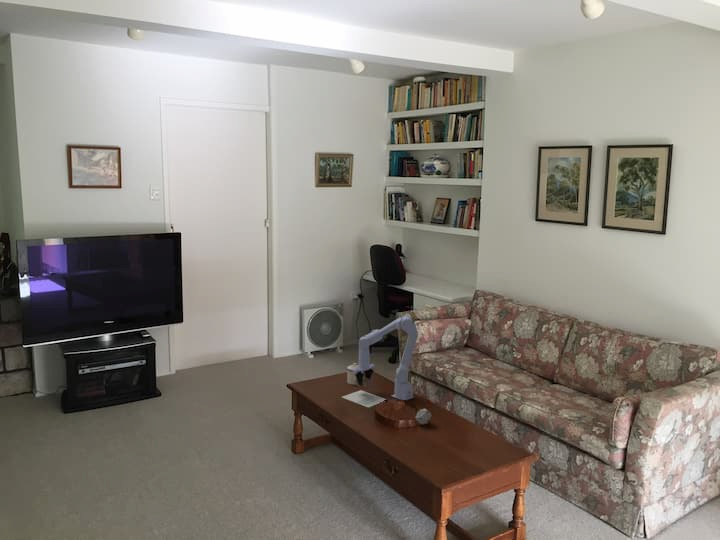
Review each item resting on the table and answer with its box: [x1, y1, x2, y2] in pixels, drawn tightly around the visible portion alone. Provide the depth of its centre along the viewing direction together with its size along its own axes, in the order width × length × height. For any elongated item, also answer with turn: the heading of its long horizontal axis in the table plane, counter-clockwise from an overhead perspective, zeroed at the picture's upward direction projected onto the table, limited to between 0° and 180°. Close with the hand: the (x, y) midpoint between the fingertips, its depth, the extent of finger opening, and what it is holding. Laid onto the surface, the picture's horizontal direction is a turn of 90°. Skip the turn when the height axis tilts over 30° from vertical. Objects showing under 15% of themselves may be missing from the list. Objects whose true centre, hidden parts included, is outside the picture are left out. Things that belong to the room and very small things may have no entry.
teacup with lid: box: [346, 362, 364, 386], centre depth 353 cm, size 12×9×12 cm
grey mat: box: [341, 389, 386, 408], centre depth 328 cm, size 20×15×1 cm
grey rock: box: [412, 406, 434, 427], centre depth 296 cm, size 9×8×10 cm
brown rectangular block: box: [355, 376, 373, 389], centre depth 333 cm, size 8×5×4 cm, turn 46°
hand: (363, 383), depth 333 cm, fingers closed on brown rectangular block, 5 cm apart
